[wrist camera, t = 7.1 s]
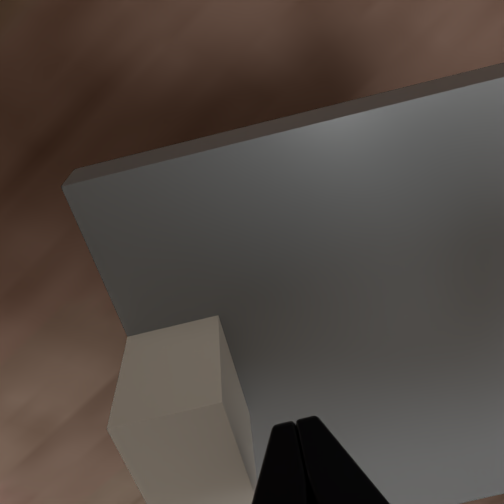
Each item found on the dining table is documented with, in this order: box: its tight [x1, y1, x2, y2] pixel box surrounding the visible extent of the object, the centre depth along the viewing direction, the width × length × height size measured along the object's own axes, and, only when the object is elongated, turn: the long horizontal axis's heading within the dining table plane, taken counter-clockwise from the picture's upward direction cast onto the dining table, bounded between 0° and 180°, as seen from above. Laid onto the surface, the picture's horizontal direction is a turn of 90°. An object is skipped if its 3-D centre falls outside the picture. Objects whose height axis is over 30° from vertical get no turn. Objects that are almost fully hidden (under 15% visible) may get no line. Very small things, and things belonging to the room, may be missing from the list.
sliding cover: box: [61, 63, 504, 504], centre depth 11 cm, size 13×10×5 cm
